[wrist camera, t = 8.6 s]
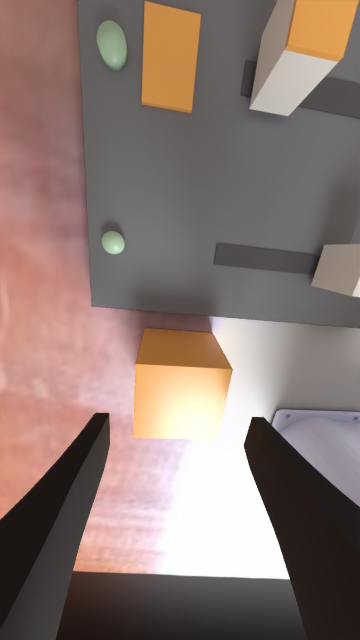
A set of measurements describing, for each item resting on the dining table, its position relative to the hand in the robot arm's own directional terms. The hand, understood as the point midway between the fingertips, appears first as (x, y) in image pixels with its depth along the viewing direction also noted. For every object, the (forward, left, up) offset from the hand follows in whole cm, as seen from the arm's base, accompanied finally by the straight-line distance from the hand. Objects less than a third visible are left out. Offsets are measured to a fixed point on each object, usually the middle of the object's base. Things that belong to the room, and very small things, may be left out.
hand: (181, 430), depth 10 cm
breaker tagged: (-3, -17, -5) cm, 17 cm away
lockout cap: (0, 0, -7) cm, 7 cm away
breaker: (-9, -8, -5) cm, 13 cm away
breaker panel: (-4, -12, -7) cm, 15 cm away
